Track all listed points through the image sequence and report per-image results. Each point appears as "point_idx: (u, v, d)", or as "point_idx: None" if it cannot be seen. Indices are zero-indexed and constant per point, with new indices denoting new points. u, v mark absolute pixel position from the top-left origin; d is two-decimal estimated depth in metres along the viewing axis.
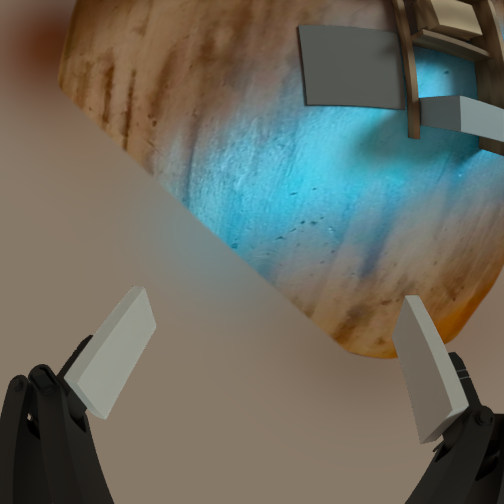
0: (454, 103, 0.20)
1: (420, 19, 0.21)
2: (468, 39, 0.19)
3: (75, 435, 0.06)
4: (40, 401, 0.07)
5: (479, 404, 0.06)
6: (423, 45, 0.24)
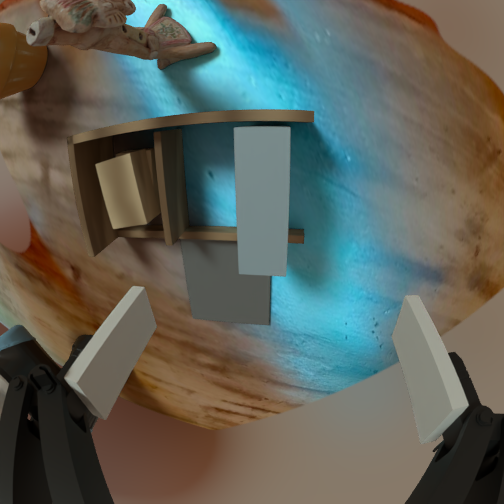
0: None
1: None
2: (150, 152, 0.28)
3: (75, 435, 0.06)
4: (40, 401, 0.07)
5: (479, 404, 0.06)
6: (185, 210, 0.33)
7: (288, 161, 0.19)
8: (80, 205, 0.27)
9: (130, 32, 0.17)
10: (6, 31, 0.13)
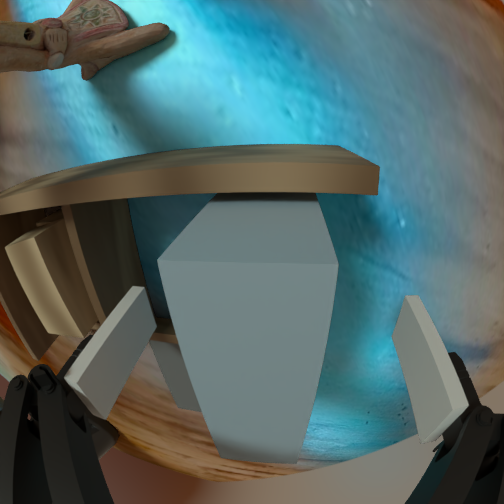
0: None
1: None
2: None
3: (75, 435, 0.06)
4: (40, 401, 0.07)
5: (479, 404, 0.06)
6: None
7: (321, 347, 0.07)
8: (3, 302, 0.15)
9: (0, 33, 0.05)
10: None
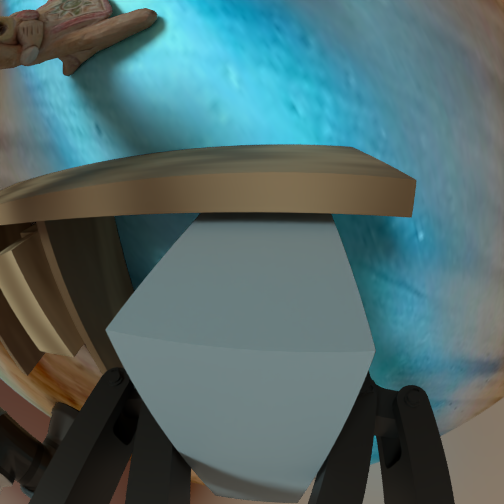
0: None
1: None
2: None
3: None
4: None
5: (368, 376, 0.08)
6: None
7: (335, 431, 0.04)
8: None
9: None
10: None
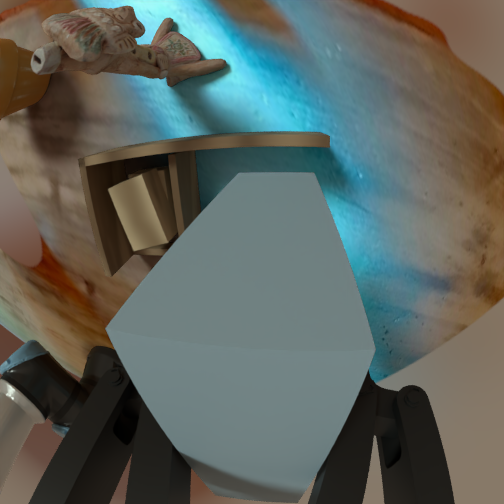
0: None
1: None
2: (163, 172, 0.29)
3: None
4: None
5: (368, 376, 0.08)
6: None
7: (335, 430, 0.04)
8: (95, 227, 0.28)
9: (139, 52, 0.18)
10: (7, 48, 0.15)
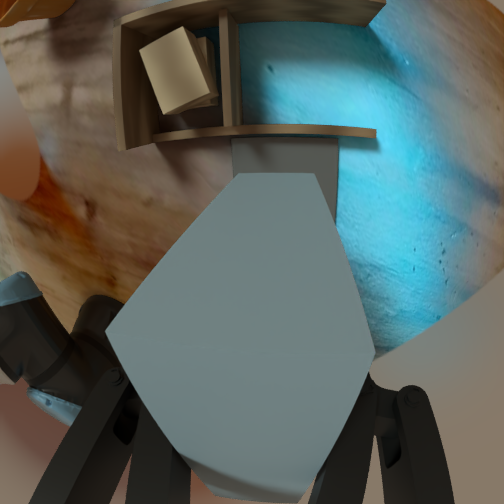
0: None
1: (201, 106, 0.27)
2: (205, 39, 0.22)
3: None
4: None
5: (368, 376, 0.08)
6: (240, 104, 0.27)
7: (335, 432, 0.04)
8: (118, 87, 0.21)
9: None
10: None
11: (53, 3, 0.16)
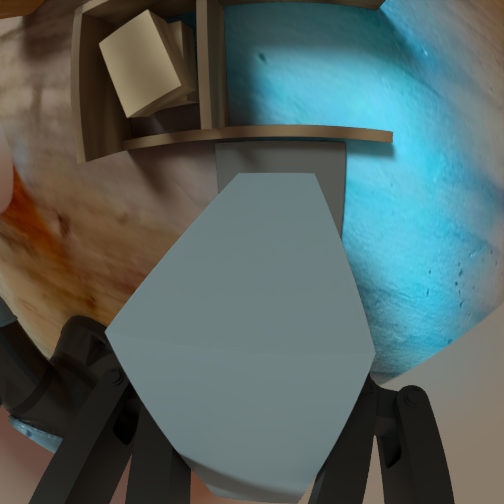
0: None
1: (178, 104, 0.21)
2: (180, 23, 0.16)
3: None
4: None
5: (368, 376, 0.08)
6: (225, 100, 0.22)
7: (335, 432, 0.04)
8: (76, 86, 0.15)
9: None
10: None
11: None
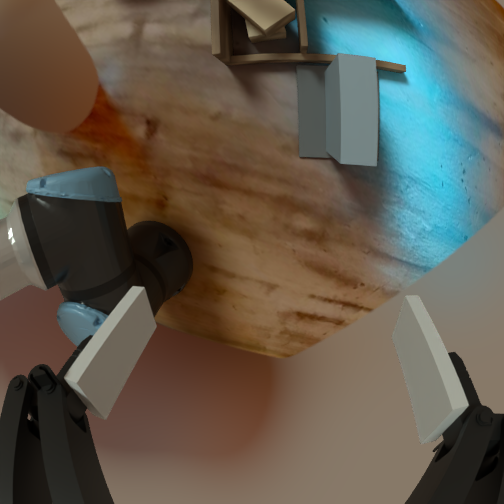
0: None
1: (275, 36, 0.29)
2: None
3: (75, 435, 0.06)
4: (40, 401, 0.07)
5: (479, 404, 0.06)
6: None
7: (375, 79, 0.21)
8: (215, 9, 0.23)
9: None
10: None
11: None
